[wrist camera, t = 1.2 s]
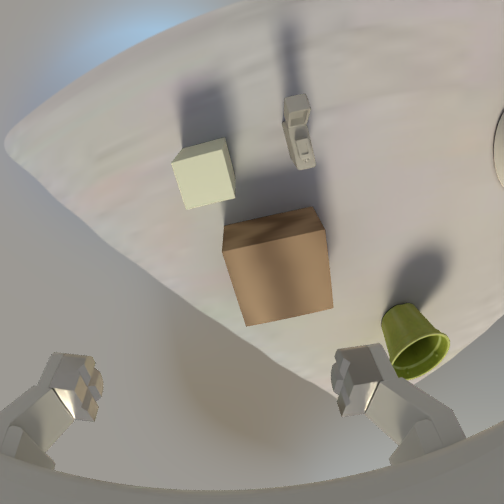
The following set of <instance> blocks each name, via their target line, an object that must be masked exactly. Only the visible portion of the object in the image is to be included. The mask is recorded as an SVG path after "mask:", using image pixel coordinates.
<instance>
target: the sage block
mask: <svg viewBox="0 0 504 504" xmlns="http://www.w3.org/2000/svg"><path fill="white" fill-rule="evenodd" d="M171 165H172V168H173V171H174V174H175V177H176V180H177V183H178V187H179V190H180V193H181V196H182V199H183V202H184V205H185V208H186V210H188V209H192V208H196V207H200V206H204V205H208V204H212V203H216V202H221V201H225V200H229V199H233V198H235V179H236V178H235V174H234V170H233V166H232V163H231V159H230V155H229V151H228V147H227V143H226V139H225V137H224V138H220V139H216V140H212V141H209V142H205V143H201V144H197V145H194V146H190V147H186V148H183V149H182V150H181V151H180V152H179V154H178V155H177V156H176V157H175V159H174V160H173V161H172V163H171Z"/></svg>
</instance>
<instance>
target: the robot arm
mask: <svg viewBox="0 0 504 504" xmlns="http://www.w3.org/2000/svg"><path fill="white" fill-rule="evenodd" d="M494 163H495V169H496V173H497V176H498V179H499V181H500V183H501V184H502V186H503V187H504V113H503V114H502V116H501V119H500V121H499V124H498V127H497V131H496V135H495V142H494ZM335 359H336V363H335V364H334V365H333V366H332V370H331V383H332V388H333V391H334V392H335V393H336V394H338V395H339V397H338V400H337V404H338V407H339V411H340V414H341V417H347V416H353V415H359V414H365V415H366V416H367V417H368V418H369V419H370V420H371V421H372V422H373V423H374V424H375V425H376V426H378V427H379V428H380V429H381V430H382V431H383V432H384V433H385V434H386V435H387V436H389V437H390V438H391V439H392V440H393V441H394V442H395V443H397V444H398V445H399V446H398V447H397V449H396V450H395V451H394V453H393V454H392V455H391V457H390V458H389V461H390V464H391V466H387V467H384V468H380V469H377V470H372V471H369V472H364V473H360V474H356V475H351V476H347V477H342V478H337V479H332V480H326V481H321V482H314V483H308V484H301V485H293V486H284V487H275V488H265V489H248V490H221V491H220V490H219V491H218V490H216V491H215V490H211V491H210V490H202V491H201V490H177V489H162V488H151V487H141V486H133V485H125V484H118V483H112V482H106V481H100V480H95V479H90V478H85V477H80V476H76V475H72V474H67V473H63V472H59V471H56V470H54V468H55V462H54V461H53V460H52V459H51V458H50V457H49V456H48V455H47V454H46V452H47V451H48V449H49V448H50V447H51V446H52V445H53V444H54V443H55V442H56V441H57V439H58V438H59V437H60V436H61V435H62V434H63V433H64V432H65V431H66V429H67V428H68V427H69V426H70V425H71V424H72V423H73V422H74V420H82V421H91V422H95V419H96V415H97V412H98V408H99V406H98V404H97V402H96V401H97V400H99V399H100V398H101V397H102V392H103V379H102V376H101V373H100V372H99V371H98V370H97V369H96V368H94V366H95V361H94V359H93V357H91V356H85V355H76V354H67V353H57V352H54V353H53V354H51V356H50V358H49V361H48V362H47V365H46V367H45V369H44V371H43V374H42V376H41V378H40V380H39V382H38V385H37V386H33V387H31V388H30V389H29V390H27V391H26V392H25V393H23V394H22V395H21V396H20V397H18V398H17V399H16V400H15V401H13V402H12V403H11V404H10V405H8V406H7V407H6V408H4V409H3V410H2V411H0V504H504V421H502V422H500V423H498V424H496V425H494V426H492V427H490V428H488V429H486V430H484V431H481V432H479V433H477V434H475V435H473V436H471V437H468V438H466V436H465V434H464V432H463V430H462V428H461V426H460V424H459V422H458V420H457V418H456V416H455V414H454V412H453V410H452V409H450V408H449V407H447V406H446V405H444V404H442V403H441V402H439V401H438V400H436V399H435V398H433V397H432V396H430V395H429V394H427V393H426V392H424V391H422V390H421V389H419V388H418V387H416V386H415V385H413V384H412V383H410V382H409V381H407V380H406V379H404V378H403V377H400V378H398V376H397V374H396V372H395V370H394V368H393V366H392V364H391V362H390V360H389V358H388V356H387V354H386V352H385V350H384V348H383V346H382V345H381V344H380V343H377V344H370V345H363V346H356V347H349V348H342V349H338V350H337V351H336V353H335Z"/></svg>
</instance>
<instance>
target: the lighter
mask: <svg viewBox="0 0 504 504" xmlns="http://www.w3.org/2000/svg"><path fill="white" fill-rule="evenodd" d="M310 111H311V107H310V104H309V101H308V98H307V96H306V94H300V95H295V96H290V97H286V98H285V99H284V117H285V120H286V121H284V122H283V123H282V126H283V130H284V133H285V137H286V141H287V145H288V149H289V153H290V157H291V159H292V161H293V162H294V164H295V166H296V167H297V169H298V170H304V169H308V168H312V167H315V165H316V163H315V158H314V153H313V149H312V144H311V140H310V136H309V131H308V127H307V125H306V123H307V121H308V118H309V114H310Z"/></svg>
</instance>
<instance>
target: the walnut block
mask: <svg viewBox="0 0 504 504" xmlns="http://www.w3.org/2000/svg"><path fill="white" fill-rule="evenodd" d="M222 253H223V256H224V259H225V263H226V266H227V269H228V272H229V275H230V278H231V281H232V284H233V288H234V291H235V294H236V297H237V300H238V303H239V306H240V309H241V312H242V315H243V318H244V321H245V324H246V327H247V326H252V325H257V324H262V323H267V322H272V321H277V320H282V319H287V318H291V317H296V316H301V315H305V314H310V313H314V312H318V311H323V310H327V309H331V308H333V298H332V287H331V277H330V268H329V259H328V250H327V242H326V234H325V229H324V227H323V225H322V223H321V221H320V219H319V218H318V216H317V214H316V212H315V210H314V208H313V207H307V208H303V209H298V210H293V211H289V212H284V213H279V214H275V215H270V216H266V217H261V218H256V219H252V220H248V221H243V222H239V223H234V224H230V225H225V226H224V233H223V246H222Z"/></svg>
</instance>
